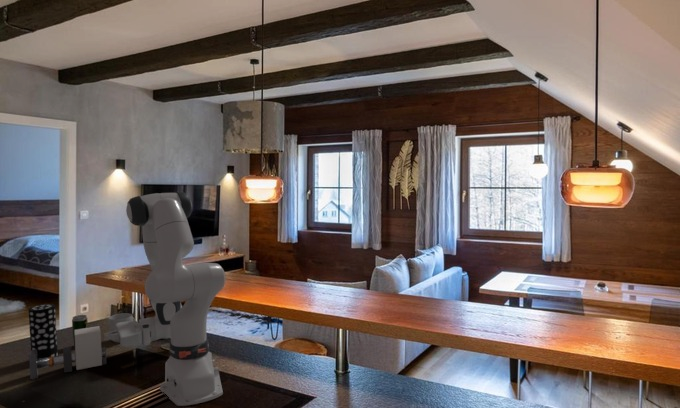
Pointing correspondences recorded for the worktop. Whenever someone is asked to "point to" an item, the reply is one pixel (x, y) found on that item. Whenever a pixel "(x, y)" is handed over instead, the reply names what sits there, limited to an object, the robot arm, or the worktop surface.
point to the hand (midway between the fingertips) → (104, 337)
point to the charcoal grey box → (67, 359)
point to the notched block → (88, 347)
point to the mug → (119, 318)
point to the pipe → (51, 361)
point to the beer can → (78, 324)
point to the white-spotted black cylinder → (43, 330)
